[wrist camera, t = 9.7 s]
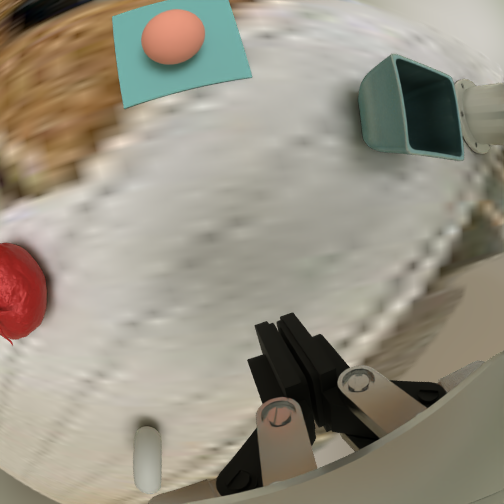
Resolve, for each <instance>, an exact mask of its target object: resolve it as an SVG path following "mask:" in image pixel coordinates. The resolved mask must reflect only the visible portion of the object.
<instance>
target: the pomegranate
mask: <svg viewBox="0 0 504 504" xmlns="http://www.w3.org/2000/svg"><path fill="white" fill-rule="evenodd" d="M46 305H47V288H46V280H45V277H44V274H43V272H42V270H41V268H40V266H39V265H38V264H37V262H36V261H35V260H34V258H33V257H32V256H31V255H30V254H29V253H28V252H27V251H26V250H25V249H24V248H22V247H20V246H18V245H15V244H11V243H1V244H0V335H1V336H3V337H4V338H5V339H7V340H8V341H9V342H10V343H11V344H12V341H11V340H10V339H15V340H16V339H20V338H22V337H26V336H28V335H29V334H30V333H31V332H32V331H34V330H35V329H36V328H37V327H38V326H39V325H40V324H41V322H42V320H43V318H44V314H45V311H46ZM8 338H9V339H8ZM12 346H13V344H12Z"/></svg>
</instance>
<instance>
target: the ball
mask: <svg viewBox="0 0 504 504" xmlns="http://www.w3.org/2000/svg"><path fill="white" fill-rule="evenodd" d="M204 39H205V28H204V25H203V23H202V21H201V20H200V19H199V18H198V17H197V16H196V15H195V14H193V13H191V12H189V11H186V10H181V9H174V10H168V11H165V12H162V13H160V14H158V15H156V16H155V17H154V18H152V19H151V20H150V21H149V22H148V23H147V25H146V26H145V28H144V30H143V33H142V37H141V43H142V48H143V50H144V52H145V54H146V55H147V56H148V57H149V58H150V59H152V60H153V61H155V62H158V63H161V64H168V65H169V64H178V63H182V62H184V61H186V60H188V59H190V58H191V57H193V56H194V55H195V54H196V53H197V52H198V51H199V50H200V48H201V47H202V45H203V42H204Z"/></svg>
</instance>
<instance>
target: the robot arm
mask: <svg viewBox="0 0 504 504" xmlns="http://www.w3.org/2000/svg"><path fill="white" fill-rule="evenodd" d="M454 86H455V91H456V96H457V102H458V108H459V115H460V121H461V129H462V135H463V137H464V139H465V141H466V143H467V144H468V145H469V147H470V148H471V149H472V150H473V151H474V152H476V153H479V154H485V153H487V152H488V151H489V150H490V148H491V145H504V83H496V84H489V85H482V86H476V85H475V84H474V83H473V82H471V81H470V80H468V79H461V80H458V81H457V82H456V83H455V85H454ZM277 327H278V330H277V328H276V327H275V325H274V323H271V324H269V323H268V322H267V321H266V322H263V323H260V324H257V325H255V329H256V333H257V336H258V339H259V343H260V346H261V350H262V353H263V355H260V356H257V357H254V358H251V359H248V360H247V361H248V364H249V366H250V369H251V372H252V375H253V378H254V381H255V384H256V387H257V389H258V392H259V395H260V398H261V401H262V403H263V404H262V405H261V406H260V407H259V409H258V411H257V413H256V424H257V428H256V429H255V431H254V432H253V433H252V435H251V436H250V437H249V438H248V440H247V441H246V442H245V443H244V445H243V446H242V447H241V449H240V450H239V451H238V452H237V453H236V455H235V456H234V457H233V458H232V460H231V461H230V462H229V463H228V464H227V465H226V467H225V468H224V469H223V470H222V471H221V472H220V474H219V476H218V477H217V478H216V479H213V480H210V481H208V480H207V479H206V480H203V481H201V482H198V483H195V484H192V485H189V486H186V487H183V488H180V489H177V490H173V491H170V492H166V493H163V494H159V495H157V496H154V497H153V498H152V499H151V500H150V501H149V502H148V504H504V351H502V352H500V353H498V354H496V355H495V356H493V357H492V358H490V359H489V360H487V361H486V362H484V361H475V362H473V363H471V364H469V365H467V366H465V367H463V368H461V369H459V370H457V371H455V372H453V373H452V374H449V375H447V376H445V377H443V378H441V379H440V380H438V383H432V382H411V381H393V380H388V379H387V378H385V377H384V376H383V375H381V374H380V373H379V372H377V371H376V370H375V369H373V368H371V367H368V366H354V367H351V368H350V367H349V366H348V365H347V364H346V362H345V361H344V360H343V359H342V358H341V356H340V355H339V354H338V353H337V352H336V351H335V349H334V348H333V347H332V346H331V345H330V344H329V342H328V341H327V340H326V339H325V338H324V336H323V335H321V334H318V335H316V336H313V337H312V336H311V335H310V334H309V332H308V331H307V330H306V328H305V327H304V326H303V325H302V323H301V322H300V321H299V319H298V318H297V317H296V316H295V314H294V313H290V314H287V315H284V316H281V317H280V321H277ZM278 331H279V332H278ZM314 420H315V422H316V424H317V425H318V427H322V426H324V428H325V430H326V432H328V431H330V430H332V432H337V433H340V435H341V437H342V438H343V439H344V440H345V441H346V442H347V444H348V445H349V446H350V447H351V448H352V449H353V450H354V451H355V452H354V453H352V454H350V455H348V456H346V457H344V458H341V459H339V460H337V461H335V462H332V463H330V464H328V465H325V466H323V467H320V468H318V469H317V465H316V462H315V458H314V454H313V451H312V447H311V446H312V445H313V443H314V441H315V439H316V435H315V423H314Z"/></svg>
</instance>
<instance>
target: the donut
mask: <svg viewBox="0 0 504 504" xmlns="http://www.w3.org/2000/svg"><path fill="white" fill-rule="evenodd" d="M161 467H162V452H161V436H160V434H159V432H158V431H157V430H156V429H154V428H153V427H150V426H144V427H141V428H140V429H138V431H137V432H136V435H135V441H134V454H133V474H134V482H135V485H136V487H137V488H138V489H139V490H140V491H142V492H143V493H147V494H153V493H156V492H158V491H159V489H160V488H161Z"/></svg>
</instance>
